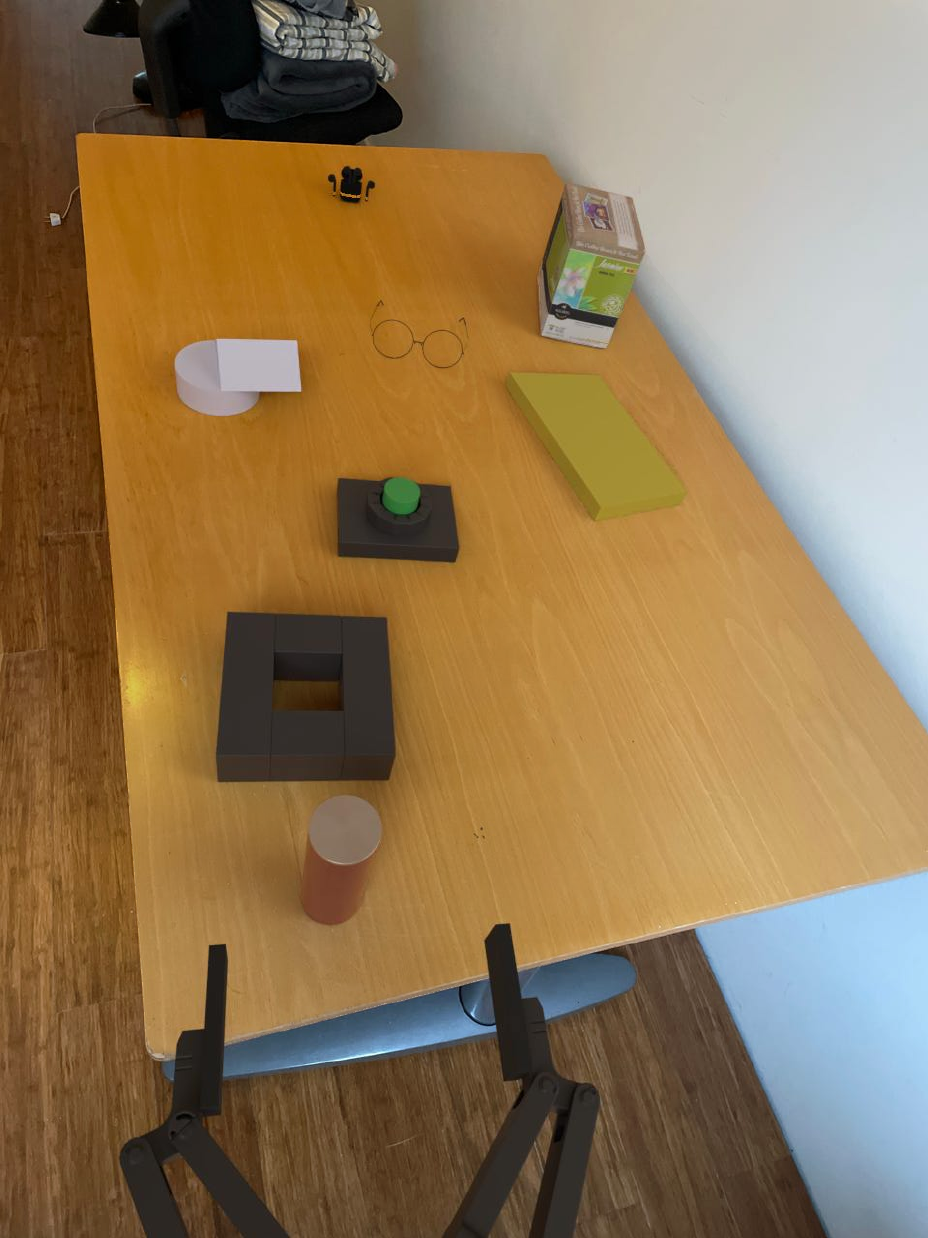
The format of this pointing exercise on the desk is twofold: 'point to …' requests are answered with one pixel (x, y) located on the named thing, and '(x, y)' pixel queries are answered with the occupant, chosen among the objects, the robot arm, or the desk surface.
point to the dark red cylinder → (339, 858)
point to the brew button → (401, 496)
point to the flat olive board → (596, 444)
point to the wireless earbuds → (351, 184)
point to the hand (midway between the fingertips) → (363, 941)
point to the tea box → (588, 265)
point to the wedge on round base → (235, 373)
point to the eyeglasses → (417, 341)
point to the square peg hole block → (305, 739)
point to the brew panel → (395, 523)
